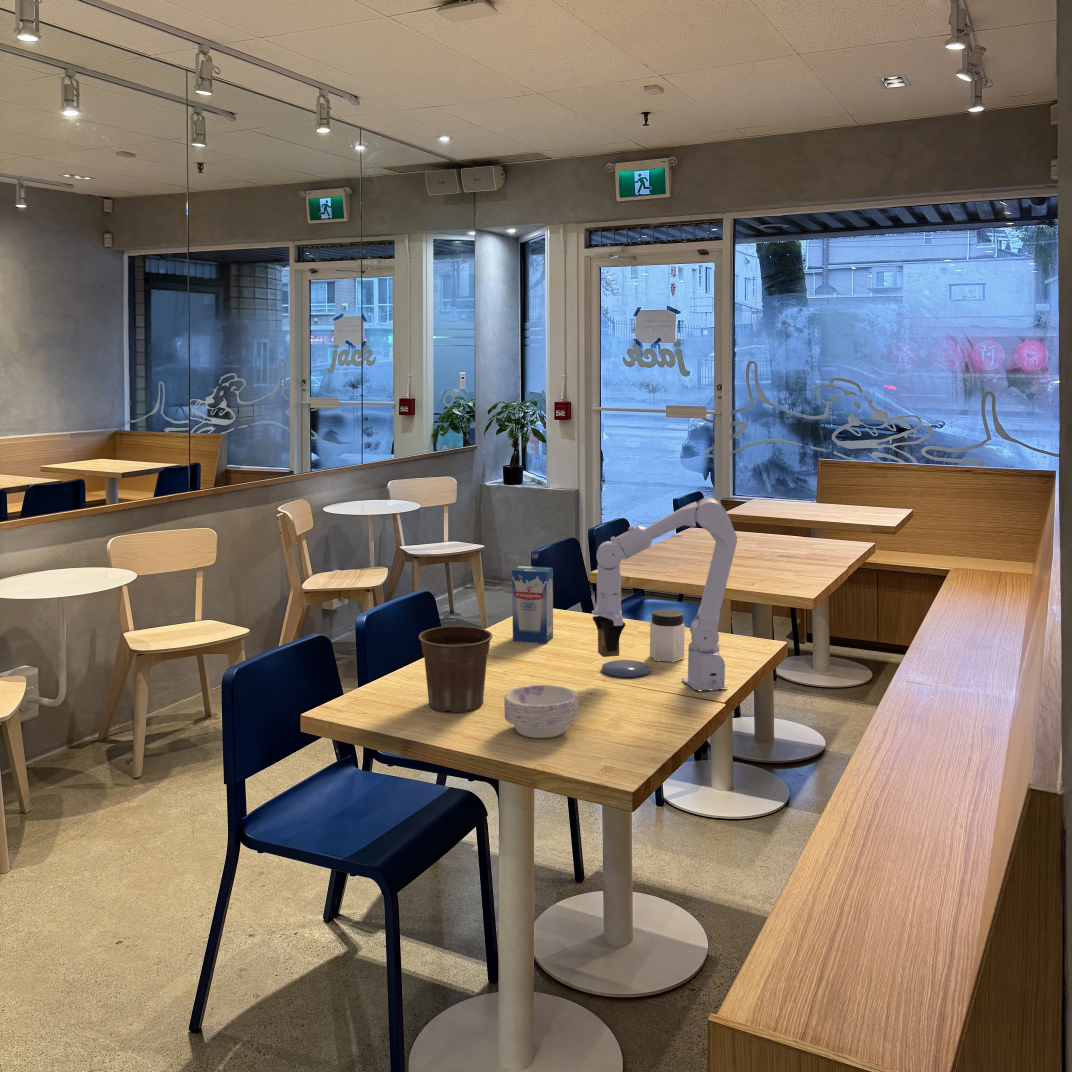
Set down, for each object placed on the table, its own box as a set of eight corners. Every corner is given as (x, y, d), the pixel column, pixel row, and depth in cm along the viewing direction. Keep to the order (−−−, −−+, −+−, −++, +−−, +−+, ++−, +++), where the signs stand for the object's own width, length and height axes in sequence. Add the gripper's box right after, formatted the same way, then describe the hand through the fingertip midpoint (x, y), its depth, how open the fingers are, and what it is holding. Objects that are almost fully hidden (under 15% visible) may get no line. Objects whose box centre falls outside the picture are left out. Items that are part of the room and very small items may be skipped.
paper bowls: (536, 713, 216) (535, 678, 215) (592, 728, 207) (592, 692, 206) (489, 733, 205) (488, 696, 203) (547, 750, 195) (546, 711, 194)
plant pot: (508, 704, 222) (507, 634, 219) (451, 722, 211) (449, 649, 209) (462, 688, 234) (460, 622, 231) (406, 704, 223) (404, 634, 220)
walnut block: (619, 655, 236) (619, 631, 235) (603, 657, 235) (603, 632, 234) (613, 651, 240) (613, 627, 239) (597, 652, 239) (597, 628, 238)
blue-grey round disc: (657, 675, 243) (657, 671, 242) (610, 679, 240) (611, 675, 239) (640, 662, 254) (640, 658, 254) (595, 665, 251) (595, 662, 251)
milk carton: (512, 640, 275) (511, 570, 272) (519, 635, 281) (518, 565, 278) (547, 643, 272) (546, 571, 269) (553, 637, 278) (553, 567, 275)
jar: (668, 664, 252) (669, 618, 250) (643, 658, 258) (644, 613, 256) (690, 657, 258) (691, 612, 256) (665, 651, 264) (666, 607, 262)
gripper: (583, 587, 241) (583, 641, 243) (602, 600, 227) (602, 657, 229) (611, 585, 243) (611, 639, 245) (631, 598, 229) (631, 655, 231)
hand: (608, 648), depth 237 cm, fingers closed on walnut block, 4 cm apart
